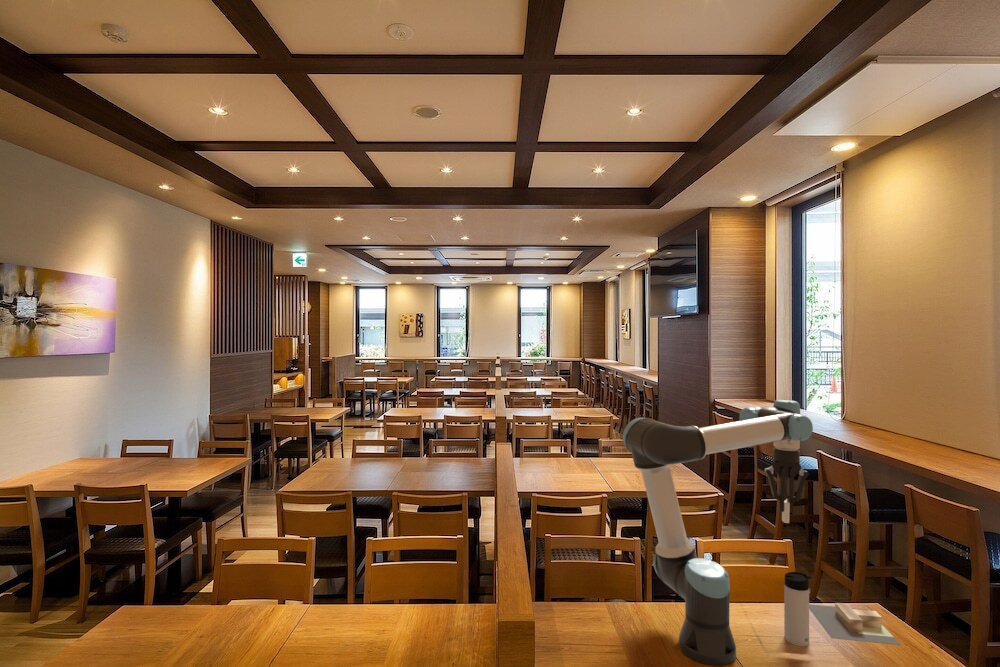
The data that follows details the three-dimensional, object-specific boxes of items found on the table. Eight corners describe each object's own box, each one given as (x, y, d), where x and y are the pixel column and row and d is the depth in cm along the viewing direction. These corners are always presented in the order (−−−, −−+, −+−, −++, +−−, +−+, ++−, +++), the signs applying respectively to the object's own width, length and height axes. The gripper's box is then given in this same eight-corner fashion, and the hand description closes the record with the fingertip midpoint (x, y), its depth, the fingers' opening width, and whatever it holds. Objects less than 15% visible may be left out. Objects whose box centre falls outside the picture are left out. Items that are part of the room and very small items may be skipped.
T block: (849, 631, 159) (849, 619, 159) (835, 613, 169) (835, 602, 169) (887, 634, 157) (887, 622, 157) (870, 617, 167) (870, 605, 167)
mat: (831, 642, 156) (831, 637, 156) (806, 607, 175) (806, 604, 175) (901, 649, 152) (901, 644, 152) (867, 613, 172) (867, 609, 172)
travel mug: (813, 651, 151) (813, 580, 151) (788, 648, 152) (788, 578, 152) (806, 639, 157) (805, 570, 157) (781, 636, 158) (781, 568, 158)
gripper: (767, 449, 171) (766, 523, 171) (812, 452, 168) (812, 527, 168) (761, 445, 179) (760, 516, 178) (804, 447, 176) (803, 519, 176)
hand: (785, 521), depth 173 cm, fingers closed
